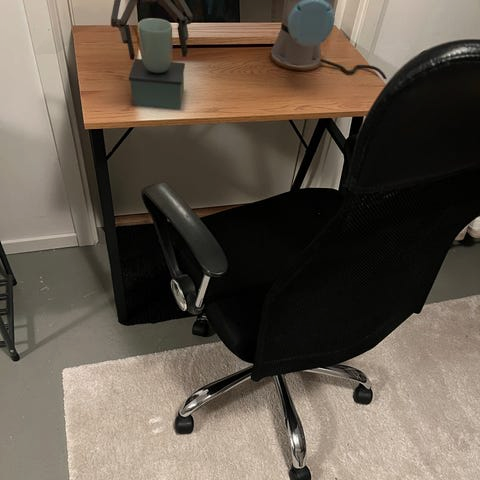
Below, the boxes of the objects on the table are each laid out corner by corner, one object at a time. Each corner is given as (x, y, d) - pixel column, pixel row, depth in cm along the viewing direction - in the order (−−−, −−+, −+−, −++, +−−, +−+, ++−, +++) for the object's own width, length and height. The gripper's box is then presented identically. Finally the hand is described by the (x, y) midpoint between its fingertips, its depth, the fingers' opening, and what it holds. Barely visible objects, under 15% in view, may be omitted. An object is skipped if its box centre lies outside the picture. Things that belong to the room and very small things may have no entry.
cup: (174, 77, 113) (173, 31, 105) (141, 76, 112) (138, 30, 104) (172, 63, 117) (171, 18, 110) (141, 62, 116) (137, 17, 108)
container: (185, 90, 124) (184, 63, 118) (181, 110, 117) (181, 82, 112) (137, 86, 123) (135, 58, 117) (131, 105, 116) (128, 77, 111)
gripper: (187, -34, 113) (204, 59, 116) (86, -34, 107) (107, 65, 110) (194, -55, 106) (211, 45, 109) (85, -56, 100) (107, 51, 103)
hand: (159, 55), depth 110 cm, fingers open, 12 cm apart
